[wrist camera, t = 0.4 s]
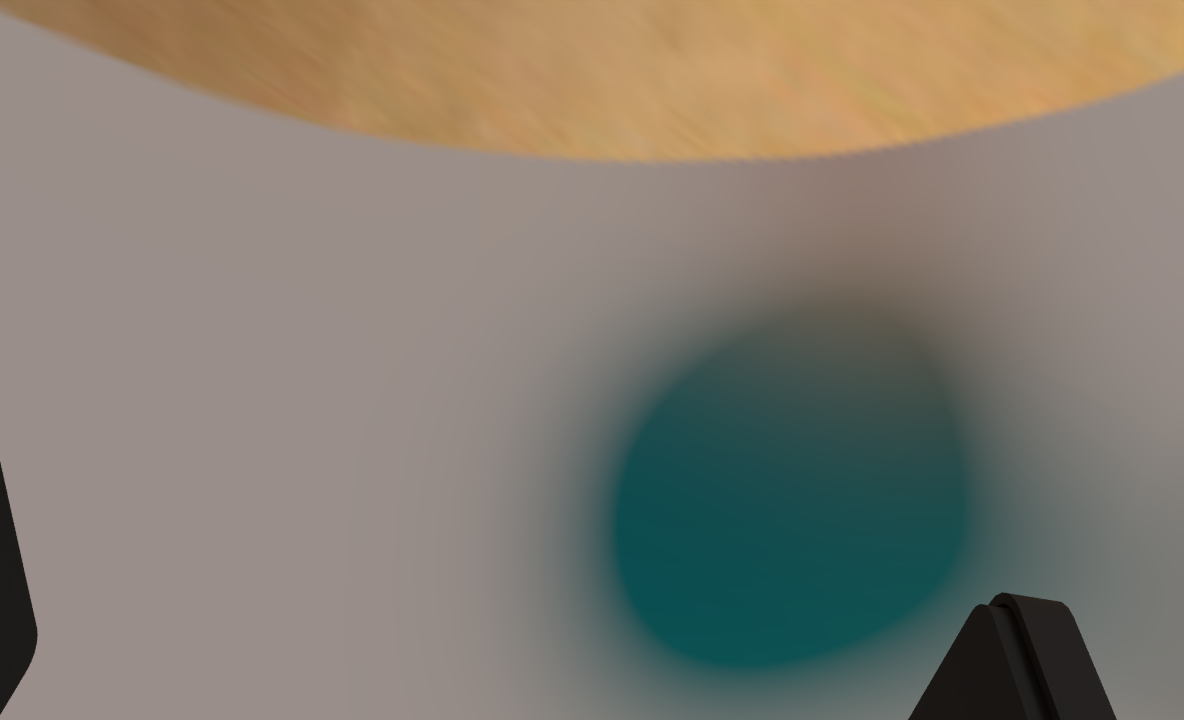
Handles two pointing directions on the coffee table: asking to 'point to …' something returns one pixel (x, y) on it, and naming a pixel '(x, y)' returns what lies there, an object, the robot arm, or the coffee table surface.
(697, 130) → the coffee table surface
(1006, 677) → the robot arm
